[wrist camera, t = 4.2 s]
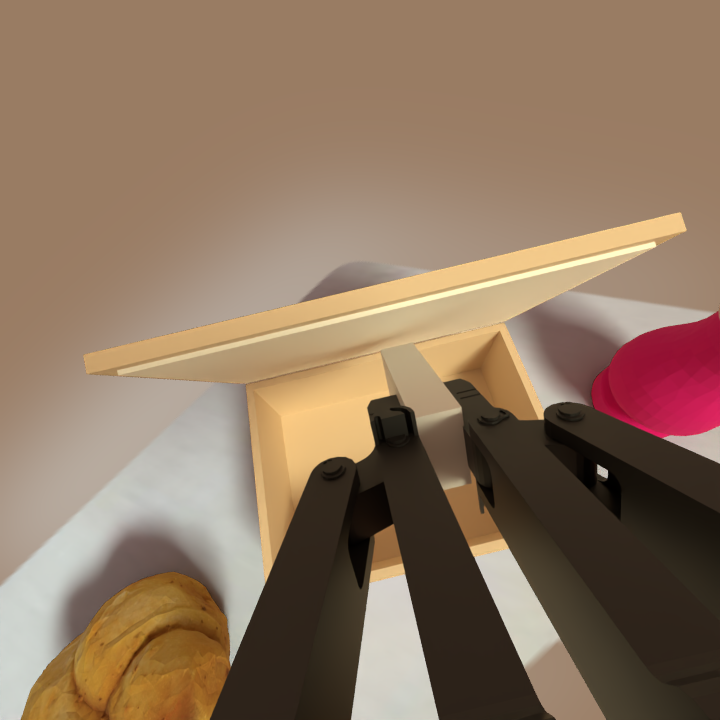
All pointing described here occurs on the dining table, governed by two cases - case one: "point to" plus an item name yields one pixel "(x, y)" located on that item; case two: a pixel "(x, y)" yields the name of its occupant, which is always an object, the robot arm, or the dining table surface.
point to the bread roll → (140, 658)
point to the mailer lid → (382, 312)
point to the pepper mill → (665, 380)
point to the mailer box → (355, 438)
